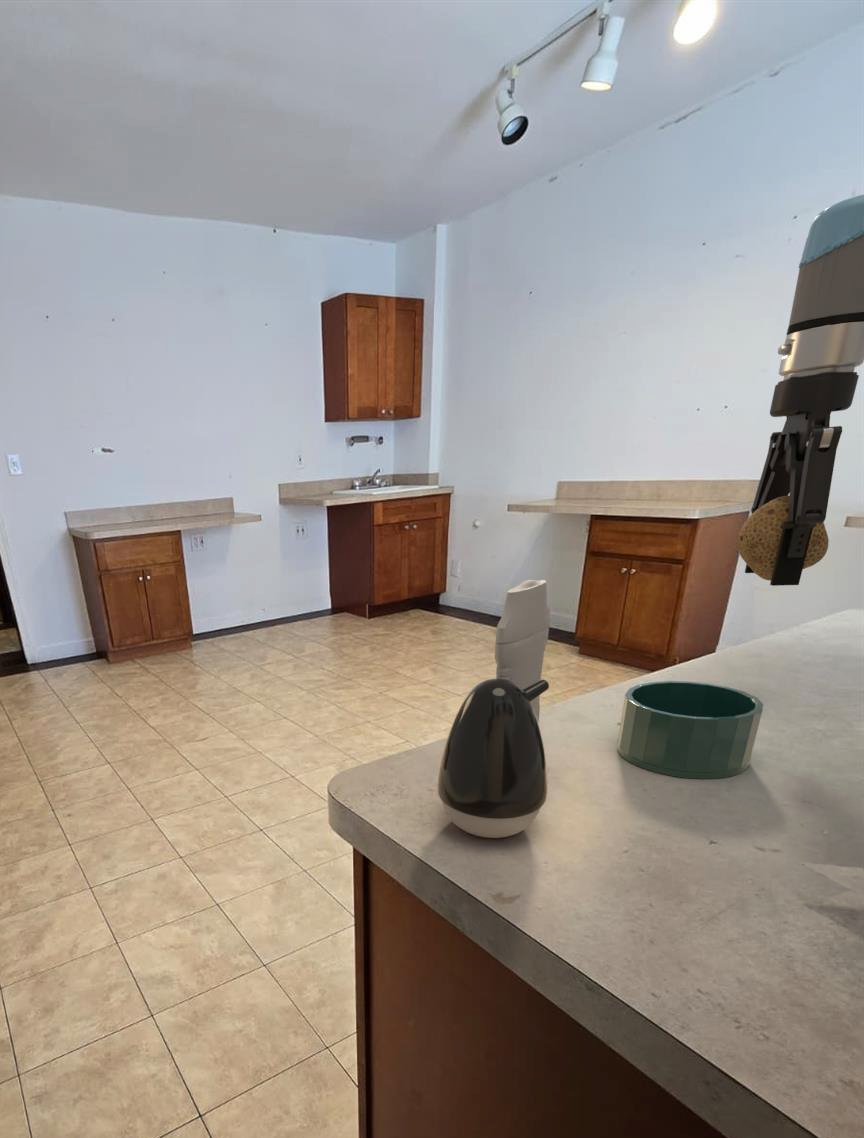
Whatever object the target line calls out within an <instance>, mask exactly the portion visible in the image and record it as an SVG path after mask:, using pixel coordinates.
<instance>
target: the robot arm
mask: <svg viewBox="0 0 864 1138" xmlns="http://www.w3.org/2000/svg"><path fill="white" fill-rule="evenodd" d="M798 269H799V270H798V275H797V280H796V285H795V291H794V295H793V301H792V306H791V311H790V317H789V321H788V322H789V323H788V326H787V327H788V328H787V330H786V334H785V335H786V337H785V341H784V344H781V345H780V346H779V347H778V348H777V354H778V355H780V356H782V357H781V359H780V363H779V364H780V365H779V368H778V375H779V376H780V377H783V380H780V381H778V382H777V384H775V386H774V390H773V395H772V399H771V404H770V409H769V416H770V417H772V418H782V417H786V419H785V422H784V426H783V427H782V431H774V432H772V433H771V435H770V437H769V445H768V451H767V455H766V459H765V462H764V465H763V469H762V472H761V475H760V480H759V482H758V486H757V490H756V492H755V497H754V500H753V503H752V507H751V508H750V509H751V510H750V513H751V514H753V513H754V512H755V511H756V510H757V509H759V508H760V507H761V506H763V505H764V504H766V503H768V502H770V501H771V500H773V499H776V498H778V497H782V496H789V514H788V521H785V522H784V523H783V524H782V525H781V526H780V528H781V529H783V531H782V535H781V539H780V544H779V548H778V552H777V557H776V561H775V565H774V569H773V574H772V578H771V581H770V583H769V585H770V586H773V587H774V586H776V587H778V586H799V585H800V581H801V577H802V574H803V573H802V572H803V570H804V569H803V566H804V562H805V558H806V554H807V550H808V546H809V542H810V538H811V534H812V530H813V528H814V527H815V526H816V524H817V523H823V522H824V523H825V521H826V518H827V511H828V506H829V498H830V494H831V486H832V482H833V481H832V480H833V474H834V467H835V461H836V456H837V450H838V446H839V442H840V439H841V436H842V433H843V426H842V425H837V426H836V425H835V426H830V425H831V423H830V422H831V414H832V413H834V412H841V411H842V412H843V411H846V410H848V409H849V408H850V407H851V406H852V404H853V401H854V398H855V397H854V396H855V393H856V390H857V389H856V388H857V385H858V381H859V378H860V374H858V372H857V371H855V369H856V367H859V366H861V365H862V364H863V363H864V194H859V195H856V196H853V197H850V198H849V197H848V198H846V199H844V200H841V201H838V202H836V203H834V204H831V205H830V206H828V207H827V208H824V209H823V210H822V211H821V212H819V213H818V215H816V216H815V218H814V219H813V221H812V223H811V224H810V227H809V231H808V235H807V237H806V240H805V244H804V248H803V251H802V255H801V258H800V262H799V264H798ZM744 573H745V574H755V573H754V572H753V570H752V569H751V568H750V567H749V566H748V565H747V564H746V563H745V569H744Z"/></svg>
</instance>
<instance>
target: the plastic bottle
mask: <svg viewBox="0 0 864 1138" xmlns="http://www.w3.org/2000/svg"><path fill="white" fill-rule="evenodd" d="M503 605H504V606H503V610H502V613H501V618H500V619H499V621H498V622H497V625H496V634H495V646H494V660H495V663H496V668H495V674H496V675H495V679H496V678H500V679H506V680H509V681H512V682H514V683H515V684H517V685H518V686H519V687H520V688H521V689H522V690H523V689H525V688H527V687H529V686H531V685H533V684H535V683H537V682H538V681H540V680H542V672H543V664H544V657H545V651H546V647H547V644H548V642H549V641H548V640H549V631H550V622H551V621H550V619H551V608H550V606H549V605H548V591H547V580H545V579H541V580H534V579H528V580H524V581H523V582H521V583H519V584H518V585H517V586H513V587H512V588H510V589H508V590H507V592H506V597H505V601H504V604H503ZM540 696H541V695H539V696H538V697H537V698H535V699H534V700H532V701H531V702H530V703H531V705H532V707H533V710H534V712H535V715H536V718H537V721H538V724H539V725H540V723H539V722H540V714H541V713H540V712H541V711H540V710H541V708H540V707H541V706H540V705H541V703H540V701H541V699H540Z"/></svg>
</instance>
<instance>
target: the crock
mask: <svg viewBox="0 0 864 1138" xmlns="http://www.w3.org/2000/svg"><path fill="white" fill-rule="evenodd" d="M622 705H623V706H622V711H621V718H620V724H619V731H618V737H617V746H616V747H617V752H618V754H619V756H621V758H623V759H624V760H625V761H626V762H628V763H630V764H632V765H634V766H636V767H639V768H641V769H644V770H647V771H649V772H654V773H657V774H660V775H665V776H671V777H676V778H683V779H685V778H686V779H695V780H697V779H698V780H711V779H713V780H714V779H725V778H729V777H733V776H736V775H737V776H738V775H740V774H741V773H743V772H744V771H746V770H747V769H748V767H749V763H750V761H751V758H752V753H753V748H754V745H755V741H756V737H757V734H758V729H759V726H760V722H761V718H762V714H763V711H764V710H763V709H764V703H763V702H762V701H761V700H760V699H759V698H758V697H757V696H755V695H753V694H750V693H749V692H747V691H742V690H740V689H736V688H732V687H729V686H723V685H719V684H714V683H708V682H697V681H688V680H687V681H686V680H684V681H683V680H677V681H676V680H666V681H665V680H664V681H663V680H662V681H652V682H651V681H650V682H646V683H640V684H637V685H634V686H631V687H630V688H628V690H627V691H626V692H625V693H624V699H623V704H622Z"/></svg>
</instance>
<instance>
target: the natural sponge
mask: <svg viewBox="0 0 864 1138" xmlns="http://www.w3.org/2000/svg"><path fill="white" fill-rule="evenodd" d="M788 514H789V495H788V496H782V497H778V498H776V499H773V500H771V501H770V502H768V503H766V504H764V505H763V506H761V507H760V508H759V509H757V510H756V511H755V512H754V513H753V514H752V513H751V514H750V516H748V517H747V519H746V520H745V521H744V523H743V524H742V527H741V529H740V531H739V533H738V536H737V538H736V548H737V550H738V553H739V556H740V558H741V559H742V560H743V561H744V562H745V565H746V564H747V565H748V566H749V567H750V568H751V569H752V570H753V572H754V573H753V574H755V575H756V576H757V577H759V578H761V579H762V580H765V581H768V582H769V581H770V582H771V578H772V574H773V569H774V565H775V561H776V557H777V552H778V548H779V544H780V539H781V535H782V531H783V529H781V528H780V526H781V525H782V524H783V523H784V522H785V521H788ZM829 541H830V540H829V536H828V532H827V529H826V526H825V521H824V522H823V523H817V524H816V526H815V527H814V528H813V530H812V534H811V538H810V542H809V546H808V550H807V554H806V558H805V562H804V566H803V569H802V570H804V569H807V568H810V567H812V566H814V565H817V564H818V563H820V562H821V560H823V558H824V557H825V556H826V554H827V552H828V549H829Z"/></svg>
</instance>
